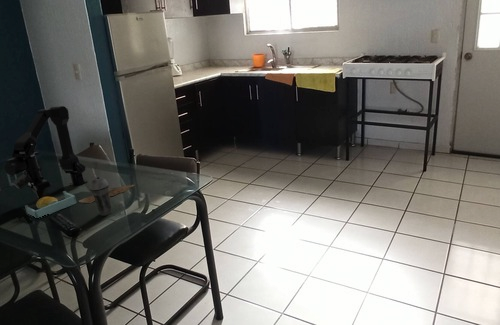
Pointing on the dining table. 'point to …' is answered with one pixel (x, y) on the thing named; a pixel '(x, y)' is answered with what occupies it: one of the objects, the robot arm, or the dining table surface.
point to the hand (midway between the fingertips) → (40, 199)
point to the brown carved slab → (111, 192)
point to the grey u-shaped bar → (53, 206)
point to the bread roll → (45, 202)
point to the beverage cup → (101, 194)
